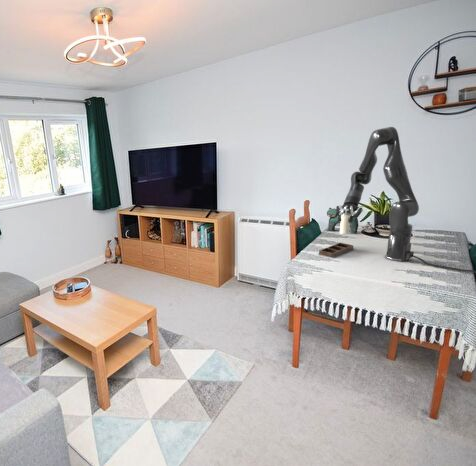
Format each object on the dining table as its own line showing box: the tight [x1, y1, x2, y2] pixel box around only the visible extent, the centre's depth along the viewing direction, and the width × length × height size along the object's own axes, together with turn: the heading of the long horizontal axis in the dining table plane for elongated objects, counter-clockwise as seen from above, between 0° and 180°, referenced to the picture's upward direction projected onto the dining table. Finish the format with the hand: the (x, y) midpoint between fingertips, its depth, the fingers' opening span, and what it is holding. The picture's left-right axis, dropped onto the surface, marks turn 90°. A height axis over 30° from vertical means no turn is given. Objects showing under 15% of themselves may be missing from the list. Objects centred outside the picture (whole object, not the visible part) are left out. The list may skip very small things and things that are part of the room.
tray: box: [318, 242, 354, 258], centre depth 192 cm, size 8×23×3 cm, turn 118°
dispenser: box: [339, 208, 351, 235], centre depth 191 cm, size 5×5×16 cm
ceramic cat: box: [326, 205, 359, 235], centre depth 228 cm, size 20×6×20 cm, turn 37°
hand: (344, 221), depth 190 cm, fingers closed on dispenser, 5 cm apart
